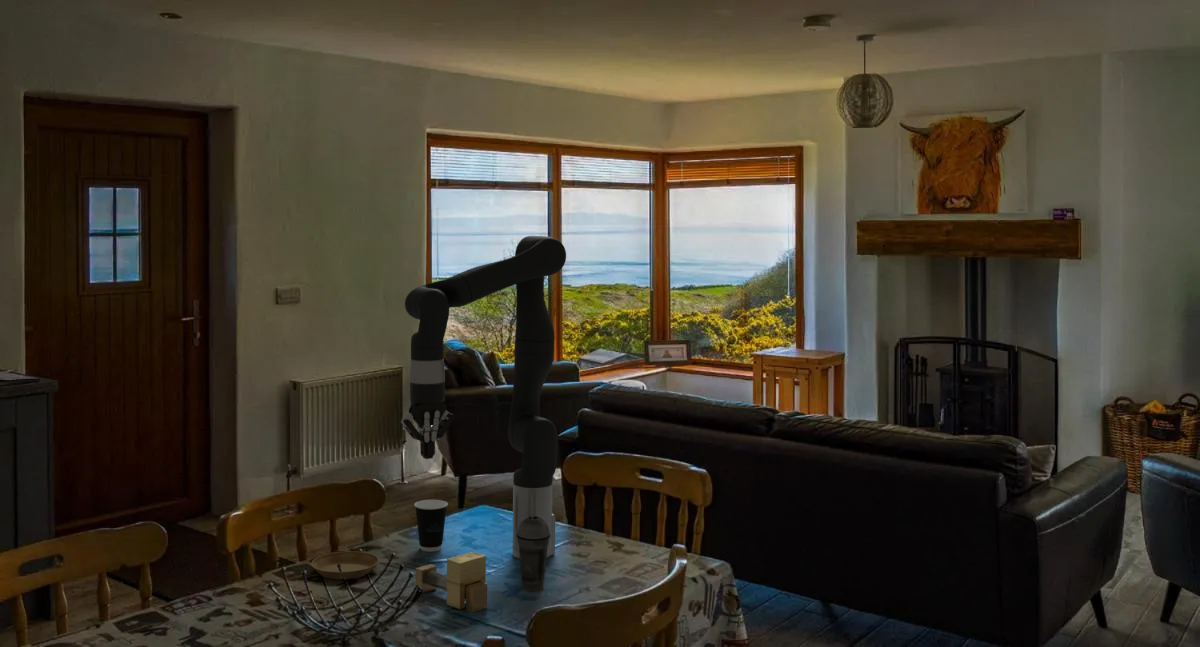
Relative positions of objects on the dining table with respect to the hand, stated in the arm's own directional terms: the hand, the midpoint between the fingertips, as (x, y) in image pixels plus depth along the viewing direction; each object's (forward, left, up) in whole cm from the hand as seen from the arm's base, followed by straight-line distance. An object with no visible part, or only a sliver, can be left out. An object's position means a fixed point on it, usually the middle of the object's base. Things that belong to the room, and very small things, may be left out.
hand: (427, 458), depth 237 cm
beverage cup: (-15, +19, -27) cm, 36 cm away
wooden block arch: (+2, +20, -27) cm, 33 cm away
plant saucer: (+13, -14, -27) cm, 33 cm away
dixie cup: (-11, -18, -27) cm, 34 cm away
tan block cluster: (+3, +15, -27) cm, 31 cm away
